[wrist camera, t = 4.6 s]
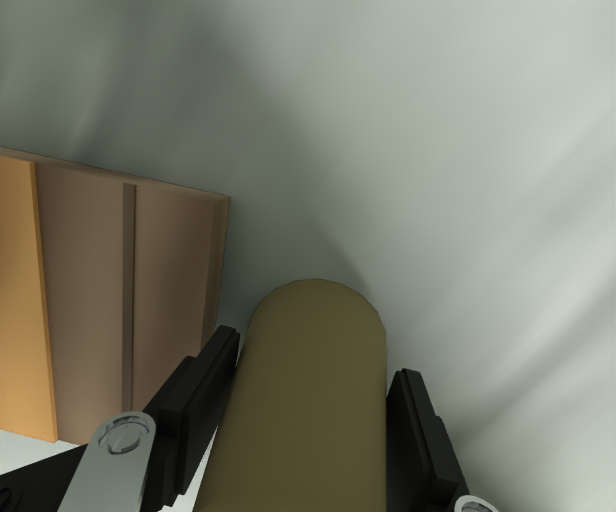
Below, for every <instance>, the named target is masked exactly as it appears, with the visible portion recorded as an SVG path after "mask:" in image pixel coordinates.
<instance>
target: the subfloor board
mask: <svg viewBox="0 0 616 512" xmlns="http://www.w3.org/2000/svg"><path fill="white" fill-rule="evenodd" d="M229 204H230V197H229V196H225V195H220V194H216V193H211V192H206V191H202V190H197V189H193V188H188V187H183V186H179V185H174V184H170V183H165V182H161V181H156V180H151V179H147V178H142V177H138V176H133V175H129V174H124V173H119V172H115V171H110V170H106V169H101V168H97V167H92V166H87V165H83V164H78V163H74V162H69V161H64V160H60V159H55V158H51V157H46V156H42V155H37V154H32V153H28V152H23V151H19V150H14V149H10V148H5V147H0V429H1V430H5V431H9V432H13V433H17V434H21V435H24V436H28V437H32V438H36V439H40V440H44V441H47V442H51V443H55V442H56V441H57V440H61V441H65V442H69V443H73V444H77V445H81V446H82V445H84V444H87V443H89V442H90V439H91V437H92V435H93V434H94V432H95V431H96V429H97V428H98V427H99V426H100V425H101V424H102V423H103V422H104V421H106V420H108V419H109V418H111V417H113V416H115V415H118V414H120V413H123V412H130V411H136V412H142V410H143V409H144V408H145V407H146V405H147V404H148V403H149V402H150V400H151V399H152V398H153V397H154V395H155V394H156V393H157V392H158V390H159V389H160V388H161V387H162V385H163V384H164V383H165V381H166V380H167V379H168V378H169V376H170V375H171V374H172V373H173V371H174V370H175V369H176V368H177V366H178V365H179V364H180V363H181V361H182V360H183V359H184V358H185V357H186V356H192V357H197V356H198V354H199V353H200V352H201V350H202V349H203V347H204V346H205V345H206V343H207V342H208V341H209V339H210V338H211V337H212V335H213V334H214V333H215V324H216V316H217V307H218V298H219V290H220V281H221V273H222V264H223V255H224V247H225V238H226V229H227V221H228V212H229Z"/></svg>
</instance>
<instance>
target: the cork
mask: <svg viewBox="0 0 616 512" xmlns="http://www.w3.org/2000/svg"><path fill="white" fill-rule="evenodd" d="M192 512H387V408H386V333H385V329H384V326H383V324H382V322H381V320H380V317H379V315H378V313H377V311H376V310H375V309H374V308H373V307H372V306H371V305H370V304H369V302H368V301H367V300H366V299H365V298H364V297H363V296H362V295H360V294H358V293H357V292H355V291H353V290H351V289H350V288H348V287H346V286H344V285H343V284H339V283H335V282H330V281H326V280H321V279H312V280H298V281H294V282H292V283H289V284H286V285H284V286H281V287H279V288H276V289H275V290H274V291H273V292H271V293H270V294H269V295H268V296H267V297H265V298H264V299H263V300H262V301H261V302H260V303H259V305H258V307H257V309H256V310H255V312H254V314H253V316H252V317H251V320H250V323H249V326H248V330H247V333H246V336H245V339H244V343H243V346H242V349H241V353H240V356H239V359H238V362H237V366H236V369H235V372H234V376H233V379H232V382H231V386H230V389H229V392H228V395H227V399H226V402H225V405H224V409H223V412H222V415H221V418H220V422H219V425H218V428H217V432H216V435H215V438H214V442H213V445H212V448H211V451H210V455H209V458H208V461H207V465H206V468H205V471H204V474H203V478H202V481H201V484H200V488H199V491H198V494H197V498H196V501H195V504H194V507H193V511H192Z"/></svg>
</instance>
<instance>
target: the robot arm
mask: <svg viewBox="0 0 616 512" xmlns="http://www.w3.org/2000/svg"><path fill="white" fill-rule="evenodd" d="M239 340H240V333H236V329H235V328H232V327H228V326H224V325H220V326H219V327H218V329H217V330H216V331H215V333H214V334H213V335H212V337H211V338H210V339H209V341H208V342H207V343H206V345H205V346H204V347H203V349H202V350H201V352H200V353H199V354H198V356H197V357H192V356H186V357H185V358H184V359H183V360H182V361H181V363H180V364H179V365H178V366H177V368H176V369H175V370H174V371H173V373H172V374H171V375H170V376H169V378H168V379H167V380H166V381H165V383H164V384H163V385H162V387H161V388H160V389H159V390H158V392H157V393H156V394H155V395H154V397H153V398H152V399H151V400H150V402H149V403H148V404H147V405H146V407H145V408H144V409H143V410H142V412H136V411H130V412H123V413H120V414H118V415H115V416H113V417H111V418H109V419H108V420H106V421H104V422H103V423H102V424H101V425H100V426H99V427H98V428H97V429H96V431H95V432H94V434H93V435H92V437H91V439H90V442H89V443H87V444H84V445H82V446H79V447H76V448H73V449H71V450H68V451H65V452H62V453H60V454H57V455H54V456H52V457H49V458H46V459H43V460H41V461H38V462H35V463H32V464H30V465H27V466H24V467H21V468H19V469H16V470H13V471H10V472H8V473H5V474H2V475H0V512H158V511H160V510H161V509H162V508H163V506H164V505H166V506H170V507H172V506H173V504H174V502H175V500H176V498H177V496H178V494H180V495H185V493H186V491H187V489H188V487H189V485H190V483H191V481H192V479H193V477H194V475H195V472H196V470H197V468H198V466H199V464H200V462H201V460H202V458H203V455H204V453H205V451H206V449H207V447H208V445H209V443H210V441H211V438H212V436H213V434H214V432H215V430H216V428H217V426H218V424H219V421H220V418H221V415H222V412H223V409H224V405H225V402H226V399H227V395H228V392H229V389H230V386H231V382H232V379H233V376H234V372H235V367H236V361H237V354H238V347H239ZM386 408H387V512H499V511H498V510H497V509H496V508H495V507H493V506H492V505H491V504H489V503H488V502H486V501H485V500H483V499H480V498H478V497H476V496H471V495H470V493H469V490H468V487H467V485H466V482H465V479H464V477H463V474H462V471H461V469H460V466H459V463H458V461H457V458H456V455H455V453H454V450H453V447H452V445H451V442H450V439H449V437H448V434H447V431H446V429H445V426H444V423H443V421H442V419H441V418H440V417H439V416H436V415H435V413H434V410H433V407H432V404H431V401H430V399H429V396H428V393H427V390H426V387H425V385H424V382H423V379H422V376H421V374H420V372H418V371H414V370H410V369H405V368H403V369H402V370H401V372H400V371H396V373H395V376H394V378H393V381H392V384H391V387H390V390H389V393H388V395H387V398H386Z"/></svg>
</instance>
